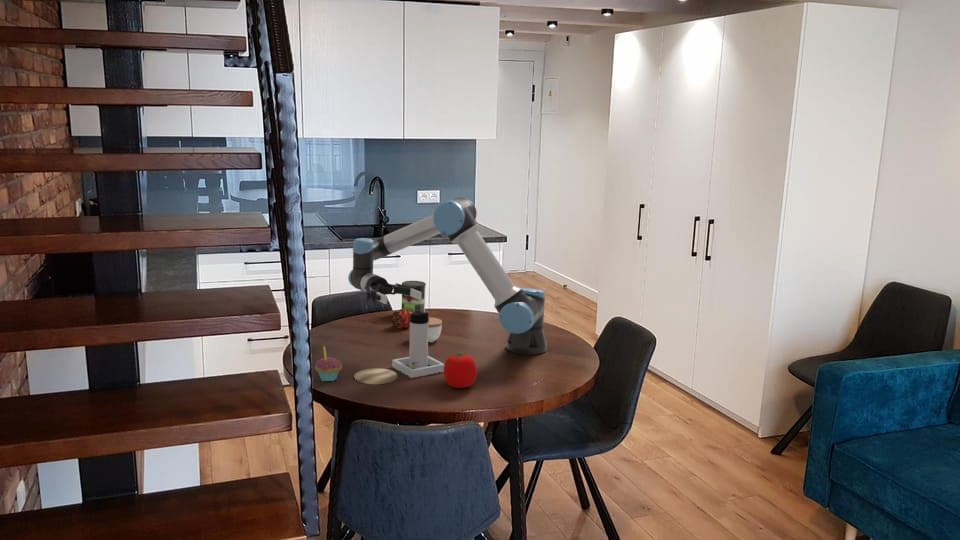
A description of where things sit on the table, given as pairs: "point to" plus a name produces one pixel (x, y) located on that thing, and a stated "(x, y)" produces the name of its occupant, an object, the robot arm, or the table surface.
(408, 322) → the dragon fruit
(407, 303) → the coffee can
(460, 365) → the tomato
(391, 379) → the mat
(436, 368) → the grey square frame
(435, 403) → the table surface
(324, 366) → the cupcake
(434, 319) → the lidded jar
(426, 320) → the travel mug
